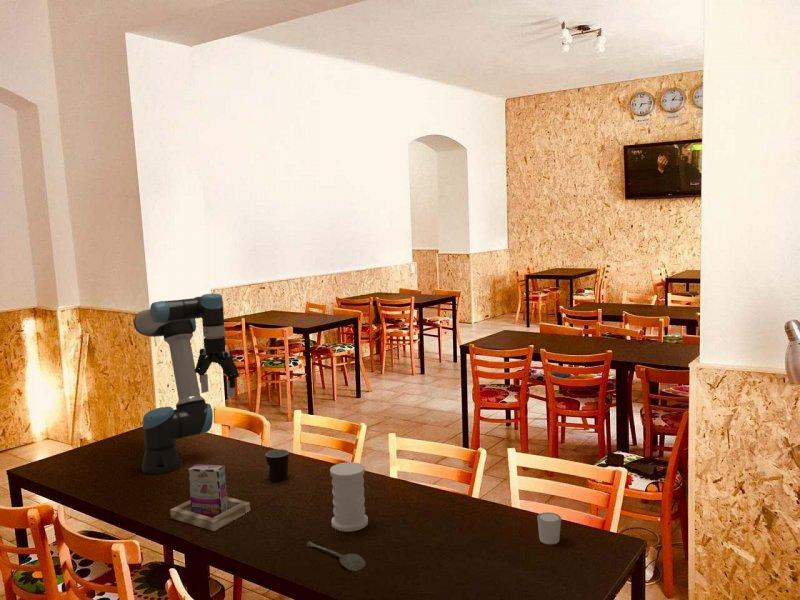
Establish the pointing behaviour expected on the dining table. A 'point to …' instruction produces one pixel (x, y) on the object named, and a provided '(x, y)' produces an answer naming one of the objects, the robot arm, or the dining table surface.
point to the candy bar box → (208, 489)
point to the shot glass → (549, 527)
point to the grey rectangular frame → (187, 516)
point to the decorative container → (348, 497)
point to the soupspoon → (345, 558)
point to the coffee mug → (277, 464)
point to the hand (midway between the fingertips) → (218, 394)
